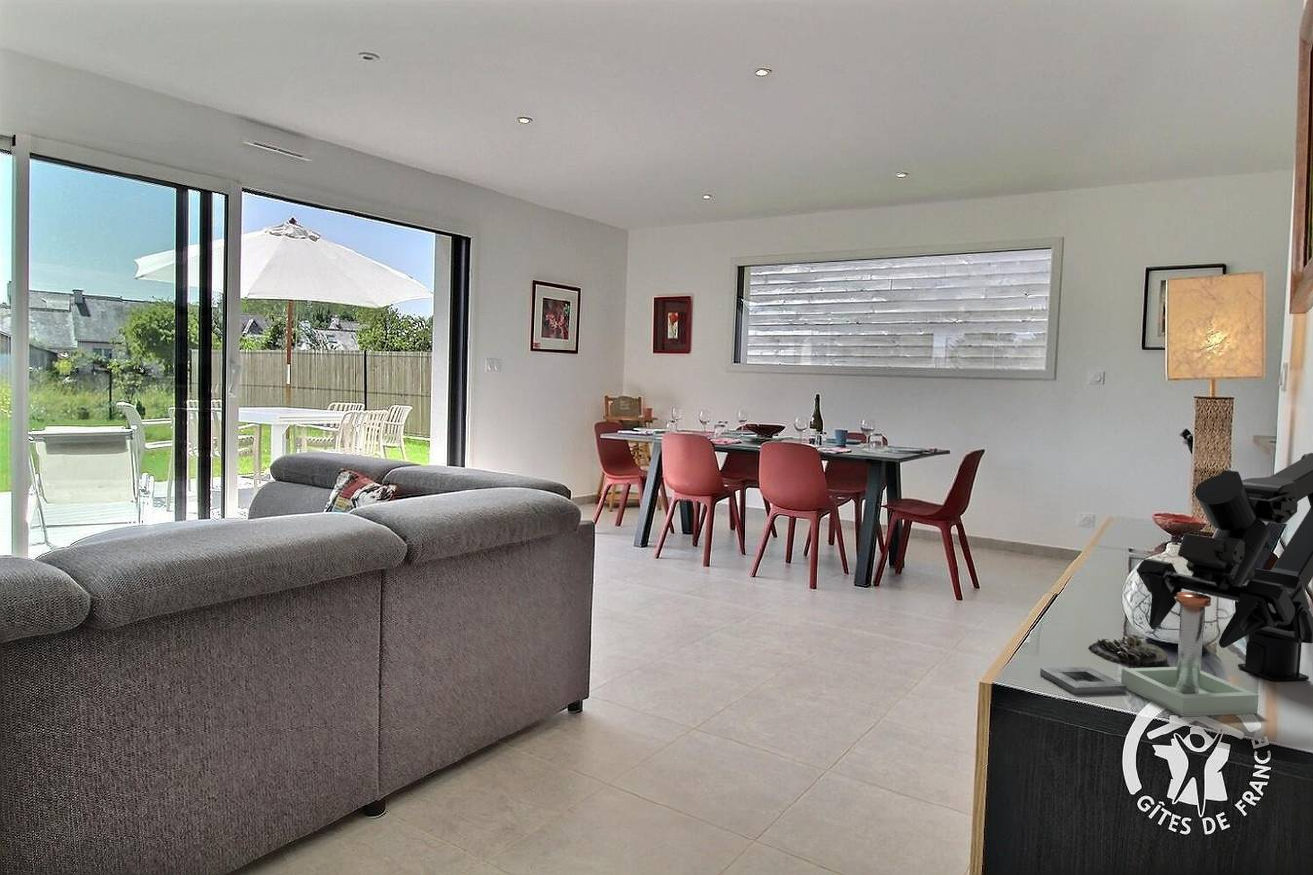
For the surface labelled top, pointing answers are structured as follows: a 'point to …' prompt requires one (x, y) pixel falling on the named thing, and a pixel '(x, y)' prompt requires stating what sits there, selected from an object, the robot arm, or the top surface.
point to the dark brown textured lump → (1130, 652)
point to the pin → (1190, 641)
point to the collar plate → (1097, 685)
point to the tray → (1209, 701)
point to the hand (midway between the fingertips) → (1185, 636)
